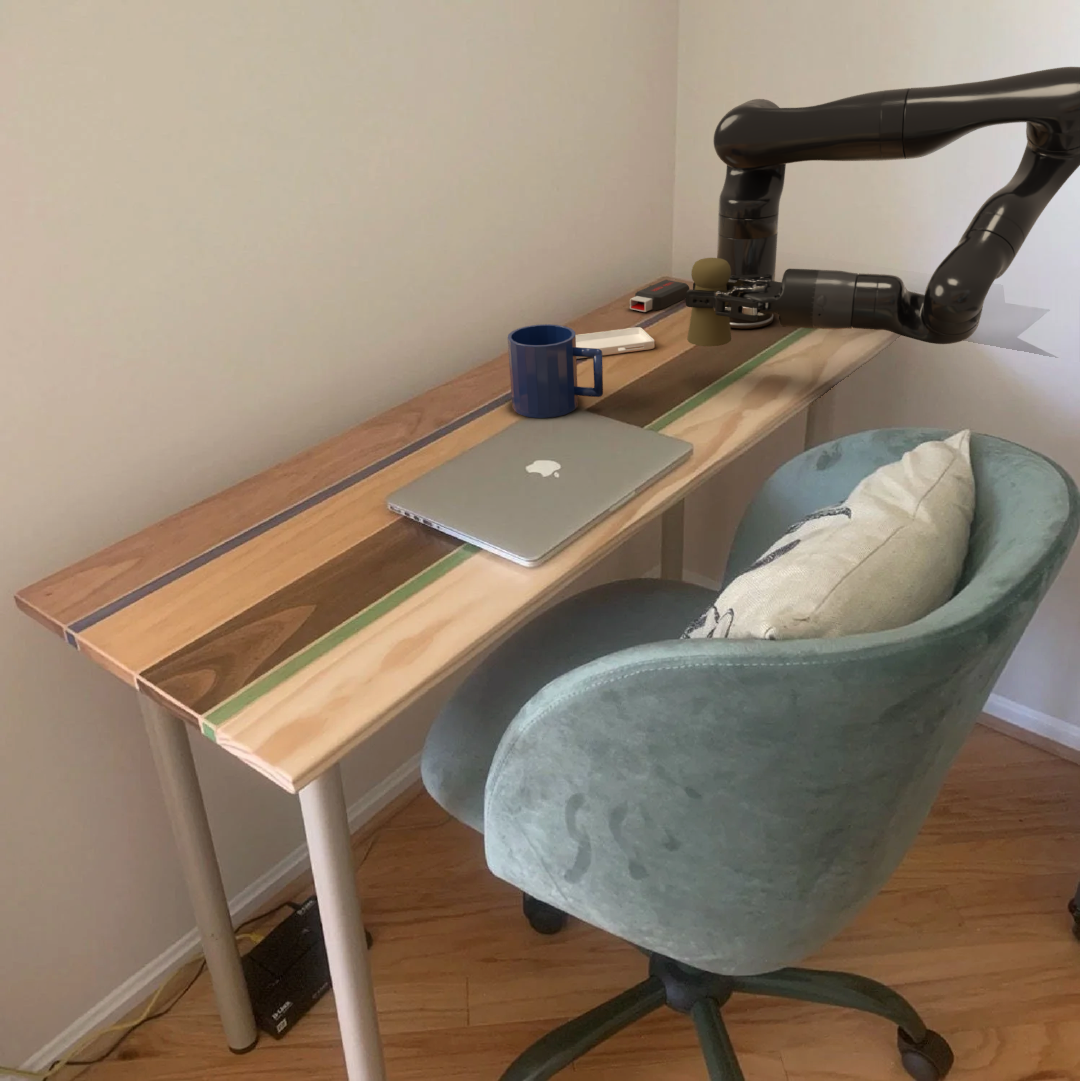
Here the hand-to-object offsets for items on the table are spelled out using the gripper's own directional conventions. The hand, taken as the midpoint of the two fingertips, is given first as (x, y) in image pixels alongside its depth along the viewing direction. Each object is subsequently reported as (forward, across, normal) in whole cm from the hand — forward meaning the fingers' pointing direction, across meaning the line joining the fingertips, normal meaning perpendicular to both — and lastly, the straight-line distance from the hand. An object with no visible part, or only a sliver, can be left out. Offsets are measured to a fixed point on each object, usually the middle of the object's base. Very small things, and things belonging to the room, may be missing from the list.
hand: (690, 293), depth 141 cm
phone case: (+16, +11, -13) cm, 23 cm away
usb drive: (+13, +35, -13) cm, 40 cm away
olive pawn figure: (-3, 0, -6) cm, 7 cm away
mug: (+15, -13, -13) cm, 24 cm away
